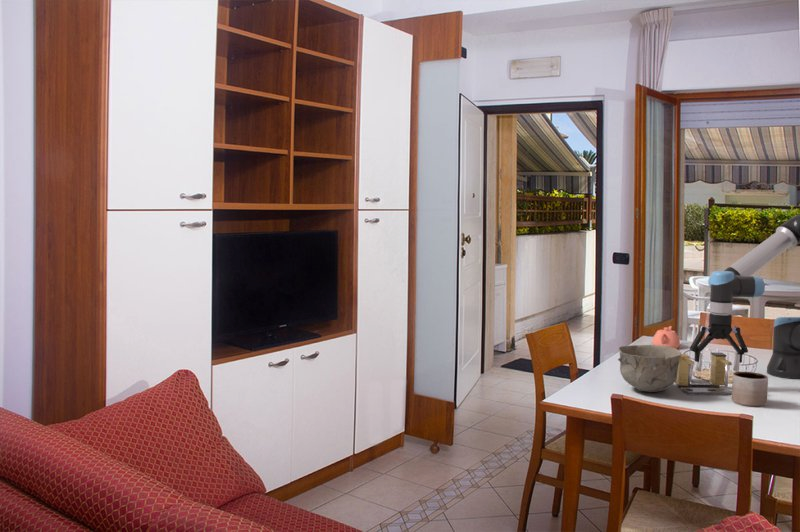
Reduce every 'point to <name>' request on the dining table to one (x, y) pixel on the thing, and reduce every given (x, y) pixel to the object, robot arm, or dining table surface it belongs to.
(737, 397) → the planter
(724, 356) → the sliding leg
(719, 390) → the hole plate
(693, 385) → the rail
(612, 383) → the dining table surface
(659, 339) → the teapot
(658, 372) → the bowl
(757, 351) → the dining table surface
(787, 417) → the dining table surface
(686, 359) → the fixed leg
